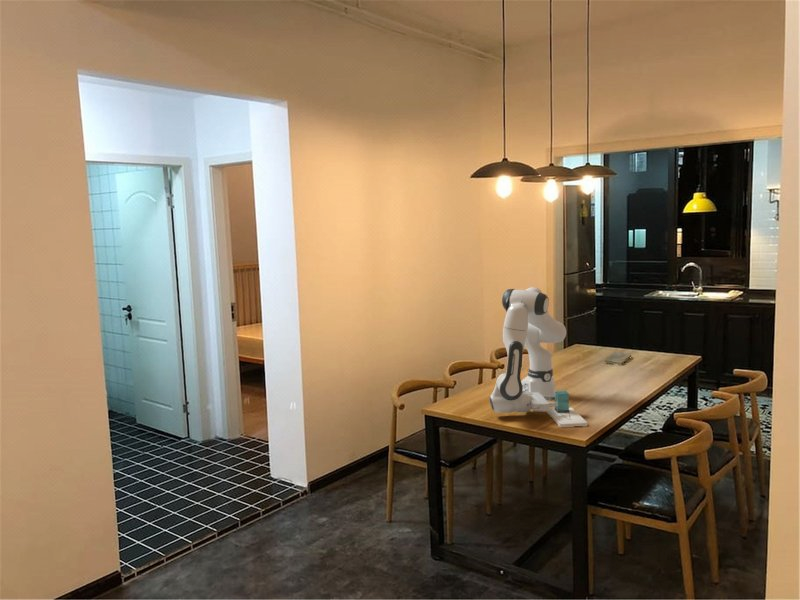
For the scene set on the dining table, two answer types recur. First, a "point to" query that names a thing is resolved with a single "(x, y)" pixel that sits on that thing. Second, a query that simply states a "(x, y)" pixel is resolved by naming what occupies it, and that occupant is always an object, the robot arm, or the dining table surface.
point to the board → (567, 418)
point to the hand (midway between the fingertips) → (554, 400)
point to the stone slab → (617, 358)
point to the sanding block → (562, 401)
